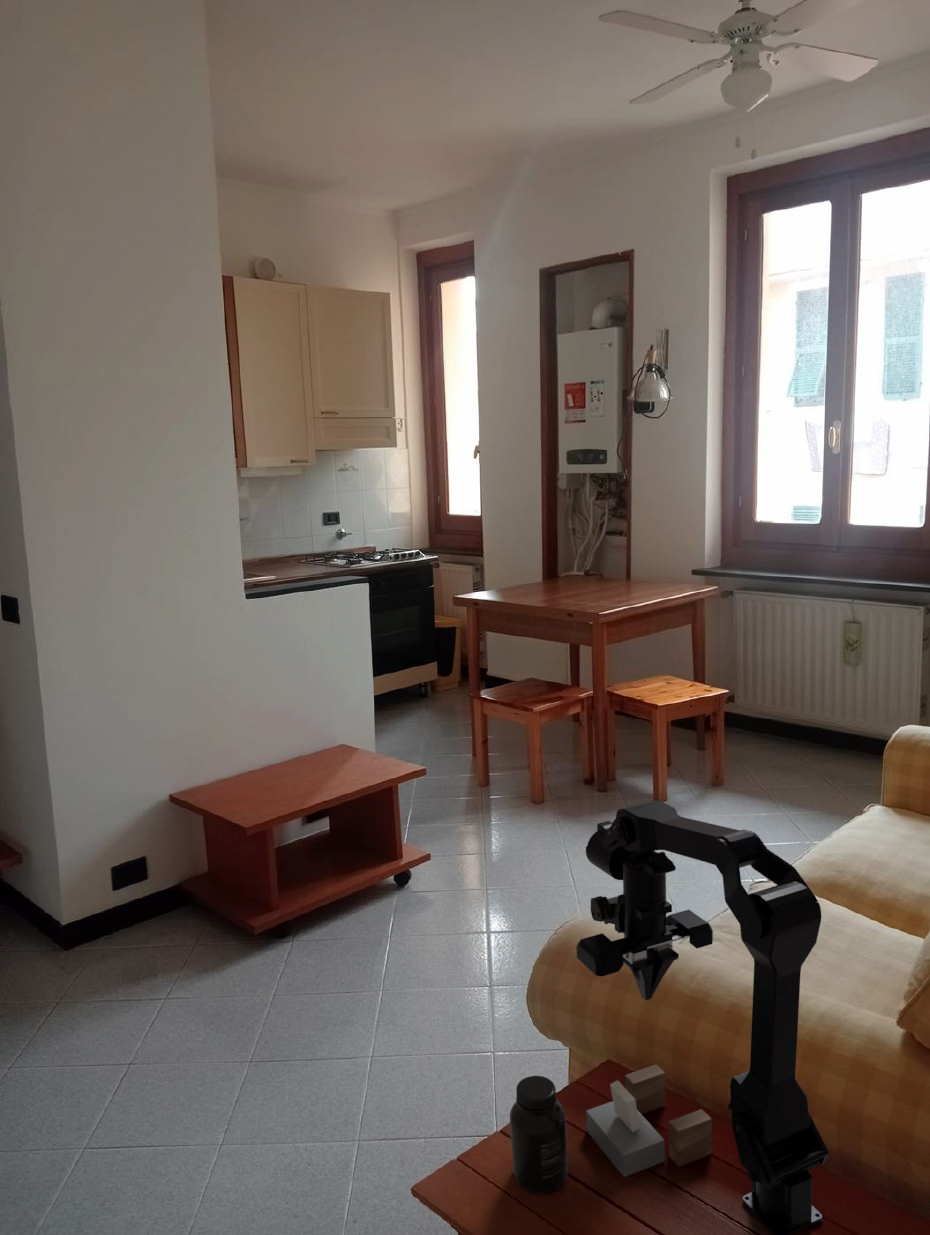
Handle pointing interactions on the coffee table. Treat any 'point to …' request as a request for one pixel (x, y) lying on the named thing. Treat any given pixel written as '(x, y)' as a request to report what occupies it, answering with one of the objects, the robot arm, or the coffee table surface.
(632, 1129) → the plate
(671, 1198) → the coffee table surface
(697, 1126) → the beige block
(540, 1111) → the supplement bottle
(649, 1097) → the far post
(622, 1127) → the base
